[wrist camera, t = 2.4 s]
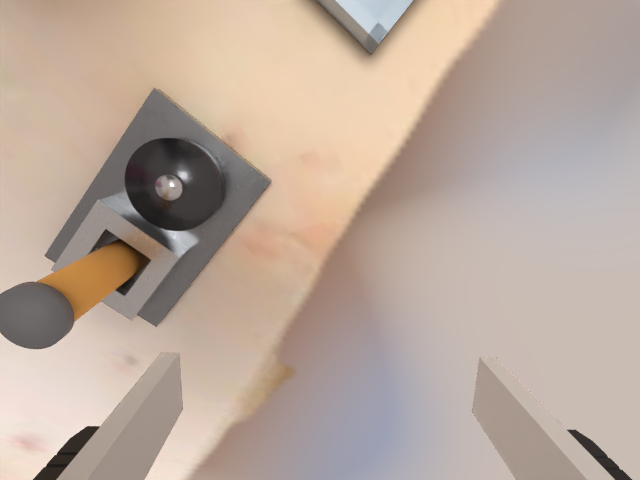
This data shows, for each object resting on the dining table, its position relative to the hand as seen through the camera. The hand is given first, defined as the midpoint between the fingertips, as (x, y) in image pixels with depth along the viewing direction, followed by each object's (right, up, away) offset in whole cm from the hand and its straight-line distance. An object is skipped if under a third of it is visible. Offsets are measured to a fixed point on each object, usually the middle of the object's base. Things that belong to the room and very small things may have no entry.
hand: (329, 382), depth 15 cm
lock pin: (-21, +5, +22) cm, 31 cm away
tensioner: (-18, +9, +22) cm, 30 cm away
